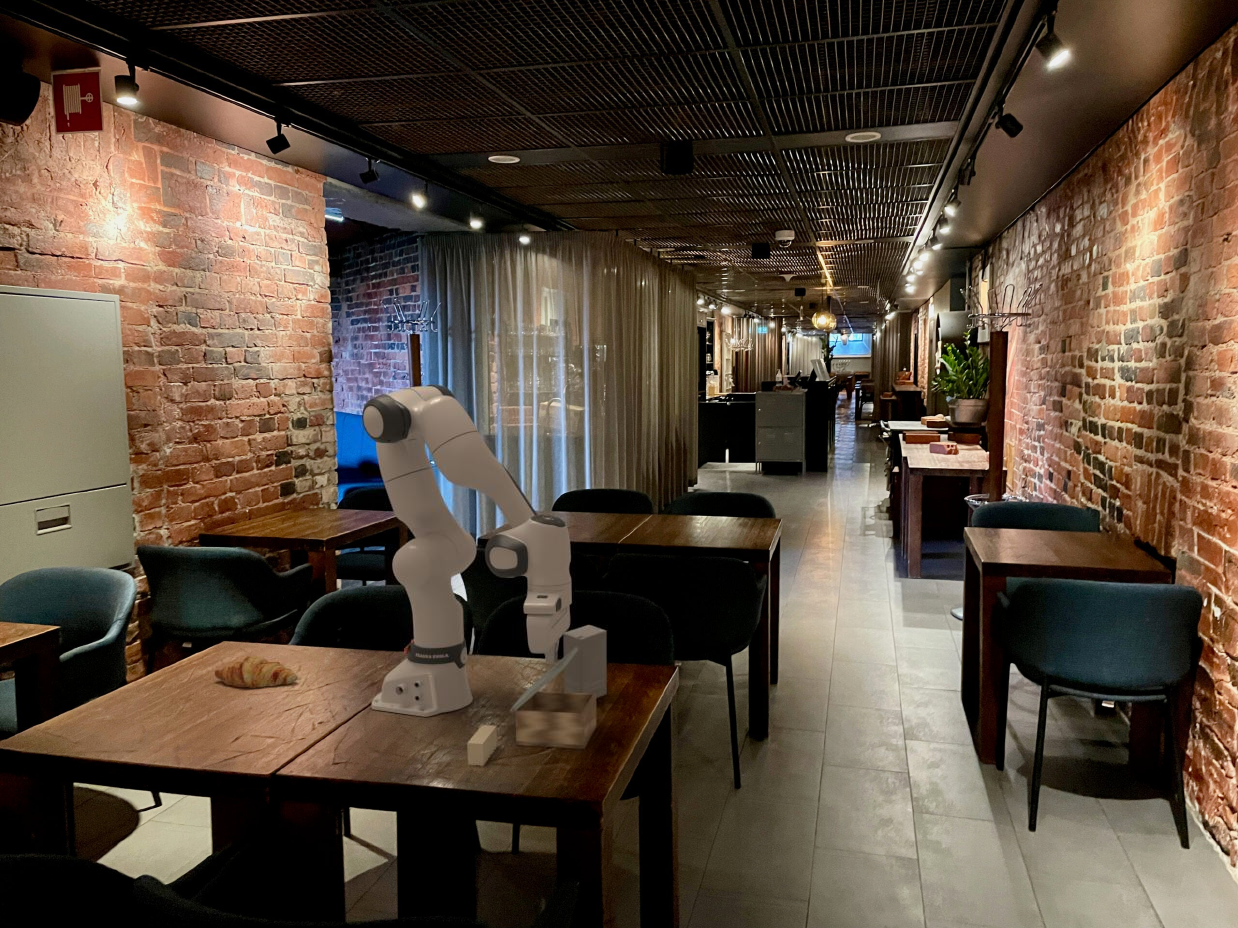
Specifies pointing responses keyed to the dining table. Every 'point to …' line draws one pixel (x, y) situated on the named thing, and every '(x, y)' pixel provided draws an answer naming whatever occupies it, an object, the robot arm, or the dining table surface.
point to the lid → (544, 680)
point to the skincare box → (586, 661)
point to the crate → (556, 720)
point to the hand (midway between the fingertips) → (551, 661)
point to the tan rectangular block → (482, 745)
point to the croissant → (256, 673)
